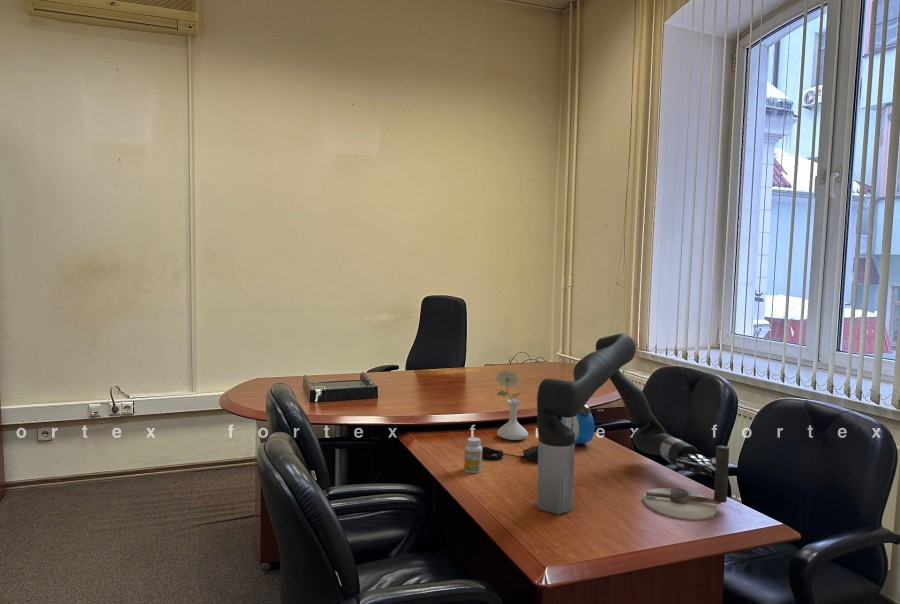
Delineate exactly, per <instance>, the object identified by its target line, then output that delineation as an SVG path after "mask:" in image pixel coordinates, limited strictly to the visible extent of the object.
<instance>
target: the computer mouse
mask: <svg viewBox="0 0 900 604" xmlns="http://www.w3.org/2000/svg"><path fill="white" fill-rule="evenodd" d="M481 447H482V459H484V460H488V461H500V460H502V459H503V457H504V456H509V457H515V458H519V459H526V460H527V461H528V462H530V463H536V462H538V445H533V446H530V447H529V448H527V449H524V450H522V454H523V455H514V454H510V453H504V452H503V451H502V450H501V449H495V448H491V447H488V446H481Z"/></svg>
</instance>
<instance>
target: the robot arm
mask: <svg viewBox="0 0 900 604" xmlns="http://www.w3.org/2000/svg"><path fill="white" fill-rule="evenodd" d="M636 349H637V348H636V343H635V341H634V339H633V337H631V336H630V335H629V334H627V333H617V334H613V335H608V336H604V337H600V338H598V339H597V341H596V343H595V351H592V352H590V353H588V354H587V355H585V356H584V357H582V358H581V359H580V360H578V362H577V363H576V364H575V365H574V368H573V371H572V373H573V381H571V380H563V379H556V378H544V379H543V380H541V382H540V383H539V385H538V389H537V395H536V414H537V415H536V416H537V417H536V418H537V419H536V420H537V421H536V424H537V425H536V426H537V433H538V445H537V446H538V463H537V476H536V477H537V479H536V506H537V507H536V509H537V510H539V511H543V512H547V513H552V514H556V515H561V514H563V513H568V512H570V511H571V510H573V500H574V499H573V498H574V470H575V469H574V466H575V463H574V462H575V447H576V446H575V445H576V444H575V434H574V432H573V430H571V429H570V428H569V427H567V426H565V425H564V424H563V423H562V422H561V419H559V418H558V417H561V418H562V417H567V418H570V417H574V416H576V415H577V414H578V413H579V412H580V411H581V410H582V408H583V407H584V405H585V404H586V405H587V403H588V401H589V400H590V398H591V397H592V396H593V395H594V394H595V393H596V392H597V391H598V389H600V388H601V387H602V386H603V385H604V384H606V382H607V381H608V380H609V379H610V381H611V383H612V384H613V386H614V387H615V389H616V391H617V393H618V394H619V397H620V398H621V400H622V402H623V405H624V408H625V410H626V413H627V415H628V417H629V418H630V421H631V422H632V424H634V425H642V424H647V425H645V426H642V427H641V428H640V429H638V430H635V432H634V433H633V435H632V443H633V445H634V446H635V448H637V449H638V450H639V451H641V452H643V453H646V454H648V455H649V454H650V455H654V456H655V455H656V456H660V457H661V458H663V459H664V460H665V461H666V462H668V463H670V464H671V465H673V466H674V467H675V468H676V469H677V470H679V471H681V470H682V471H683V472H684V471H685V472H689V473H694V474H699V473H700V474H702V475H707V476H709V477H711V478H712V479H715V467H716V457H712V458H710V459H708V458H707V457H706V456H705V455H704V456H703V455H701V453H700V452H699V450H698V449H697V448H696V447H695V446H693V445H691V444H689V443H688V442H686V441H684V440H682V439H679V438H676V437H674V436H672V435H670V434H668V433H667V431H666V429H665V428H664V427H663V426H662V424H661V423H660V422H659V420H658V419H657V418H656V417H655V415H654V414H653V412H652V410H651V407H650V405H649V403H648V402H649V401H648V400H647V398H646V396H645V394H644V392H643V391H642V390H641V388H639V386H637V385H636V384H635V383H634V382H632V381H631V380H630V379H629V378H628V377H626V375H624V373H623V372H621V371H622V370H620V369H621V368H622V367H623V366H626V365H627V364H628V363H630V362H632V361H633V359H634V358H635V355H636Z"/></svg>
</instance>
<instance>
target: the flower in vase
mask: <svg viewBox="0 0 900 604" xmlns="http://www.w3.org/2000/svg"><path fill="white" fill-rule="evenodd" d="M496 380H497V381H498V384H499V385H501V386H504V387H505V388H510V387H514V386H516V385H517V383H518V382H519V376H518V374H516V372H513V371H512V370H508V369H506V370H505V369H503V370H502V371H499V372H498V374H497V376H496ZM508 391H509V390H506V391H505V390H499V391H498V392H497V393H496V395H498V396H501V397H506V396H507V395H508V397H509V399H506V403H507V404H508V406H509V420H508V422H506V423H504V424H503V425H502V426H500V427H499V428H498V429H497V432H496V434H497V435H498V436H499V437H500V438H501V439H506V440H508V441H509V440H510V441H511V440H512V441H521V440H524V439H526V438H527V437H528V436H529V432H528V431H527V429H526V428H525V427H523V425H521V424H520V423H519V422H518V420H517V412H518V411H517V410H518V406H519V405H520V404H521V400H519V399H513V398H516V397H518V396H519V395H521V391H519V392H516V393H513V394H512V395H510V393H509V392H508Z"/></svg>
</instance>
